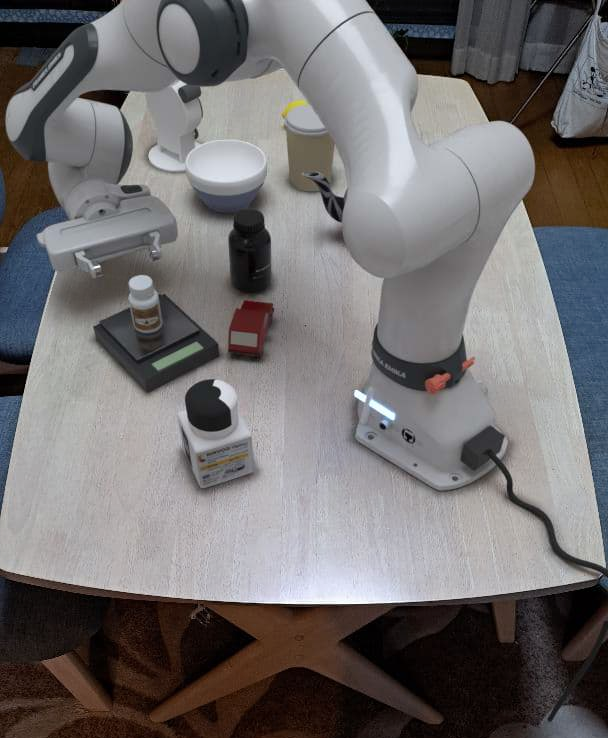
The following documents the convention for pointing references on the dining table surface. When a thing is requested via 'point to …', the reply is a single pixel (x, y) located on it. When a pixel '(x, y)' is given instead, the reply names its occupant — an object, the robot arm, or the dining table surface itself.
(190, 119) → the white device on stand
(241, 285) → the supplement bottle
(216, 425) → the container
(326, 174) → the coffee cup
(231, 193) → the bowl
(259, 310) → the toy truck
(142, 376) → the scale
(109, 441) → the dining table surface
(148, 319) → the pill bottle
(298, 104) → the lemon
